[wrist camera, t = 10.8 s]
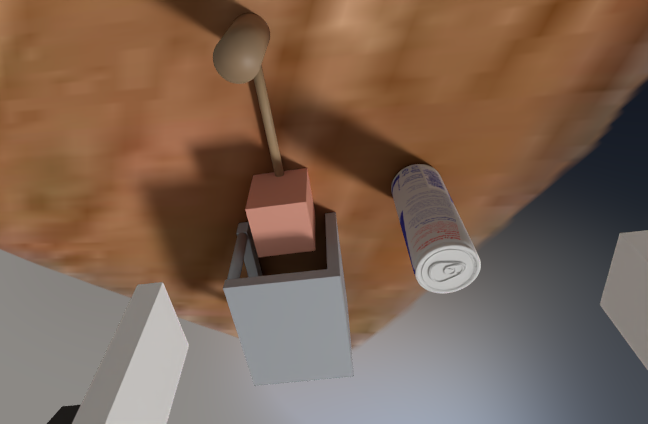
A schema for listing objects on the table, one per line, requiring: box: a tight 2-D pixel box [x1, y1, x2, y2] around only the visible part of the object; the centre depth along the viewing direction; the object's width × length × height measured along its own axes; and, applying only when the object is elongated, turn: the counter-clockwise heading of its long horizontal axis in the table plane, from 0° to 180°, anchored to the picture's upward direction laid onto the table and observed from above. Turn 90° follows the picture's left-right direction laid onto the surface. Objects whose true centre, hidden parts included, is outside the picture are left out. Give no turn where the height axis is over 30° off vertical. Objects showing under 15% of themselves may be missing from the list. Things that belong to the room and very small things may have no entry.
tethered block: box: [213, 13, 315, 257], centre depth 44 cm, size 22×6×9 cm, turn 8°
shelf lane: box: [223, 212, 354, 386], centre depth 53 cm, size 15×11×11 cm
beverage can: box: [391, 164, 481, 293], centre depth 45 cm, size 6×6×15 cm
